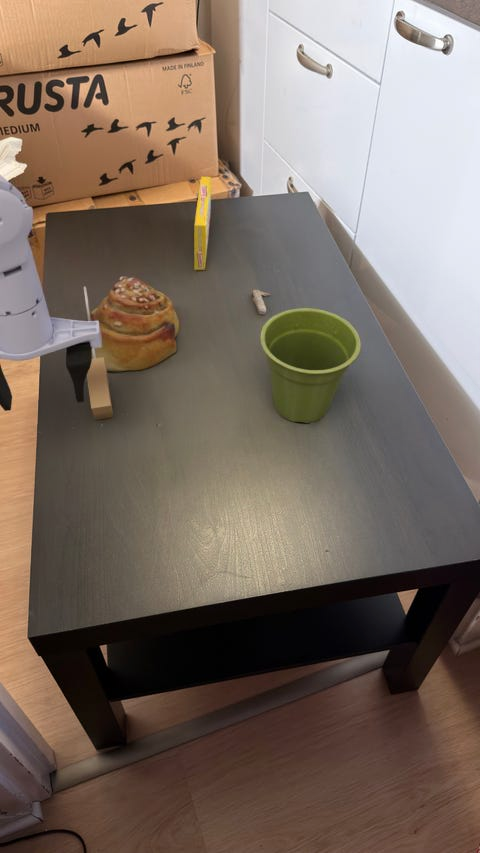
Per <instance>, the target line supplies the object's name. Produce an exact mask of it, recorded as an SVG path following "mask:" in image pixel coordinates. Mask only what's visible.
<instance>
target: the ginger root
mask: <svg viewBox="0 0 480 853" xmlns="http://www.w3.org/2000/svg"><path fill="white" fill-rule="evenodd" d="M252 295H253V298H252V299H251V300H252V301H253V303H254V305H255V307H256V309H257V311H258V314H260V315H266V314H267V307H266V304H265V301H264V298H263V297H268V296H271V294H270V293H268V292H264V291H261V290H259V289H253V290H252Z"/></svg>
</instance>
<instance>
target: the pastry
mask: <svg viewBox="0 0 480 853" xmlns="http://www.w3.org/2000/svg"><path fill="white" fill-rule="evenodd" d="M90 314H91V321H99V325H100V330H101V335H102V347H101V348H95V349H96V356H97V358H101V357H104V361H105V365H106V369H107V372H116V373H121V372H127V371H131V372H132V371H133V372H134V371H143V370H146V369H149V368H152V367H154V366H156V365H157V364H159V363H161V362H163V361H165V360H166V359H168V358H169V357H171V356H172V355H174V354H175V353H176V352H177V342H176V339H175V338H176V337H177V336H178V334H179V332H180V325H181V324H180V319H179V317H178V315H177V312H176V310H175V308H174V304H173V301H172V300H171V299H170V298H169V297H168V296H167V295H165V294H164V293H162V292H161V291H159V290H156V289H155V288H153V287H152V286H150V285H148V284H147V283H145V282H143V281H142V280H140V279H139V278H136V277H128V276H120V277H119V280H118V282H115V283H114V285H113V287H112V288H111V289H110V291H109V293H108V295H107V296H105V297H104V298H103V300H102V301H101V302H100V303H99V305H98V307H96V308H94V309H93V310H92V311H90ZM92 359H94V358H93V351H92Z"/></svg>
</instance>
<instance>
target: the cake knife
mask: <svg viewBox="0 0 480 853" xmlns="http://www.w3.org/2000/svg"><path fill="white" fill-rule="evenodd" d="M83 293H84V301H85V307H86V314H87V321H91V314H90V313H91V308H90V301H89V295H88V290H87V286H86V285H85V286H83ZM92 351H93V358H94V359H92V362H91V366H90V369H89V370H88V373H87V375H86V379H87V380H86V381H87V387H88V388H87V389H88V394H89V402H90V409H91V412H92V415H93V419H94V420H95V421H96V420H103V419H109V418H114V410H113V403H112V396H111V389H110V384H109V376H108V371H107V369H106V365H105V361H104V357H101V358H97V356H96V349H95V348H92Z"/></svg>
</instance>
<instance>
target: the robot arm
mask: <svg viewBox="0 0 480 853" xmlns="http://www.w3.org/2000/svg"><path fill="white" fill-rule="evenodd" d="M33 224H34V211H33V207H32V206H30V205H28V204H27V201H26V199H25V197H24V195H23V194H22V192H20V190H19V189H18V188H17V187H16V186H14V185H13V184H12V183H11V182H10V181H8V180H7V179H6V178H5V177H3V175H1V174H0V360H7V361H15V362H22V361H29V360H33V359H37V358H39V357H42V356H45V355H48V354H51V353H54V352H57V351H60V350H64V349H66V352H65V367H66V370H67V371H68V374H69V377H70V379H71V381H72V385H73V389H74V395H75V399H76V400H75V401H76V402H77V403H78V404H79V403H84V402H85V387H84V386H85V382H86V379H87V373H88V370H89V369H90V366H91V362H92V348H101V347H102V335H101V330H100V325H99V321H88V320H77V319H69V318H62V317H52V316H51V315H50V312H49V309H48V304H47V302H46V298H45V294H44V290H43V287H42V283H41V279H40V276H39V272H38V269H37V265H36V261H35V257H34V254H33V250H32V247H31V246H30V241H29V239H28V237H29V235H30V232H31V231H32V227H33ZM3 371H4V370H3V369H2V366H1V364H0V407H1V408H2V409H3V411H5V412H6V411H7V412H8V411H12V403H13V395H12V391H11V388H10V385H9V383H8V381H7V379H6V376H5V374H4V372H3Z"/></svg>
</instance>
